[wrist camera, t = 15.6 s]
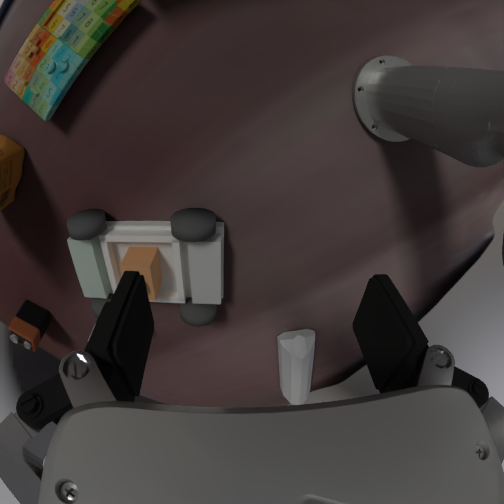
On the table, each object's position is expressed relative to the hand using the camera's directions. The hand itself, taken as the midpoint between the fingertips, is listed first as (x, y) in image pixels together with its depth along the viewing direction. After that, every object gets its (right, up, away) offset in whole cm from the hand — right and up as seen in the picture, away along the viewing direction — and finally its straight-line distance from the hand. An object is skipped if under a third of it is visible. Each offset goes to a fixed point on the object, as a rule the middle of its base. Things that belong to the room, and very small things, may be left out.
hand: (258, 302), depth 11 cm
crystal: (+9, -22, +48) cm, 54 cm away
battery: (-47, -11, +38) cm, 61 cm away
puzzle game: (-25, +31, +13) cm, 41 cm away
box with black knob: (-16, 0, +31) cm, 35 cm away
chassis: (-17, +1, +32) cm, 36 cm away
